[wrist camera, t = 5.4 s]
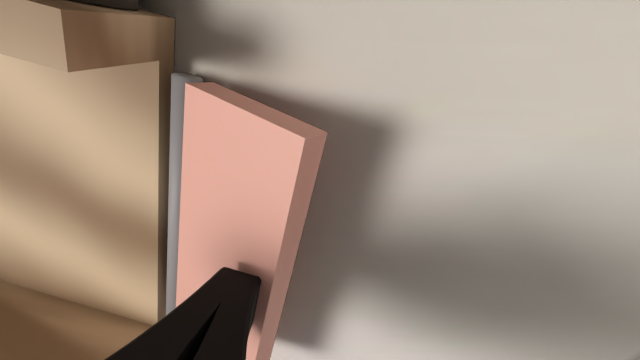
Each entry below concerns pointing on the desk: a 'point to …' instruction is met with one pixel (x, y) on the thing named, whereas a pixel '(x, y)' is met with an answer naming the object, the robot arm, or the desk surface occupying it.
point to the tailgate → (236, 196)
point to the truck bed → (82, 175)
